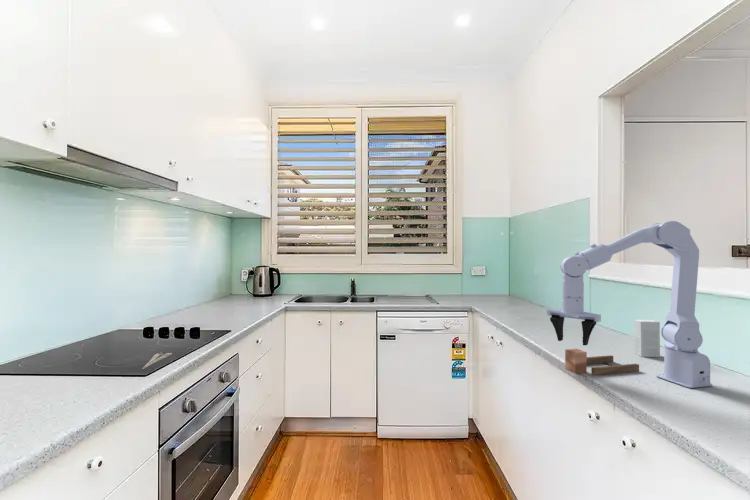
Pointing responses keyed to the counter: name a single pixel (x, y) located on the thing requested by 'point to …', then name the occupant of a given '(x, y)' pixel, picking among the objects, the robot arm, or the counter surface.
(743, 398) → the counter surface
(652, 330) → the skincare box
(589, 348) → the counter surface
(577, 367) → the terracotta block
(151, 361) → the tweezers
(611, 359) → the walnut channel
